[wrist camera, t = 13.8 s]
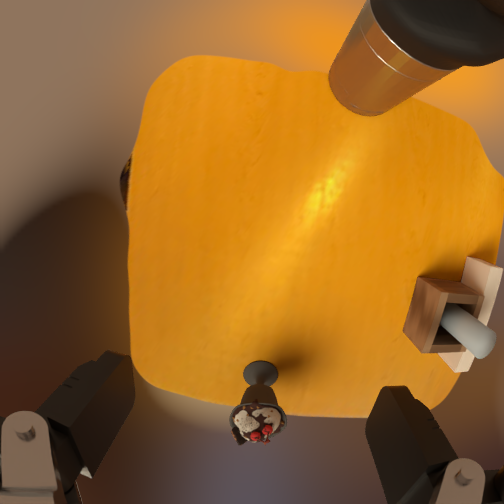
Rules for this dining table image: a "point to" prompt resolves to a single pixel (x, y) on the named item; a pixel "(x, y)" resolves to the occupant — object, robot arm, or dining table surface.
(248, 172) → the dining table surface
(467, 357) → the rail
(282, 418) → the sundae
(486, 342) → the gray cylinder
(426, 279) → the open wooden box
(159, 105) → the dining table surface
